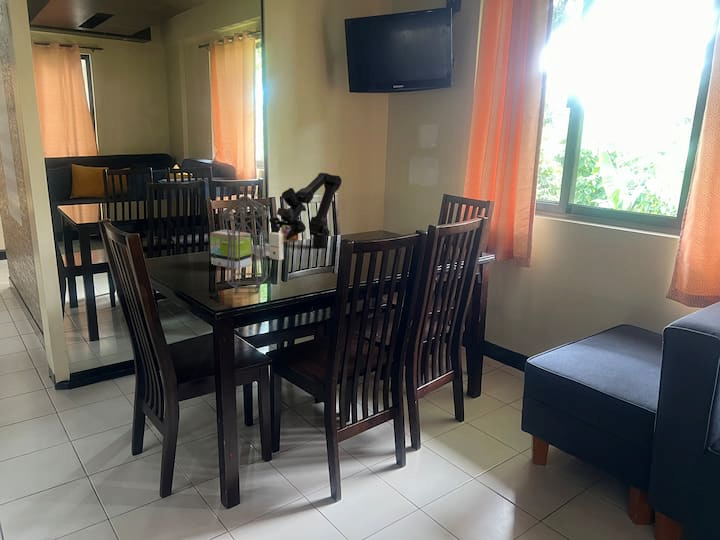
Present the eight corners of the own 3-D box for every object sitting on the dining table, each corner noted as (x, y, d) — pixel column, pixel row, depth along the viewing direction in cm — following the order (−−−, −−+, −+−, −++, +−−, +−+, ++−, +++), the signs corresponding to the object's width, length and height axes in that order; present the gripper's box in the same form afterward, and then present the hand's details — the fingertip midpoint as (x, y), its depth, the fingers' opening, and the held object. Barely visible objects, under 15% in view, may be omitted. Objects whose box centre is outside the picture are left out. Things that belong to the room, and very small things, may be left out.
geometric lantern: (271, 285, 202) (270, 194, 194) (265, 297, 187) (263, 199, 178) (230, 284, 202) (226, 193, 193) (221, 297, 187) (217, 198, 178)
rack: (249, 252, 257) (249, 245, 257) (266, 250, 263) (266, 243, 262) (260, 257, 247) (260, 250, 246) (278, 255, 252) (278, 248, 251)
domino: (269, 258, 246) (268, 233, 243) (273, 257, 248) (273, 232, 245) (279, 260, 243) (278, 234, 240) (283, 259, 245) (283, 233, 242)
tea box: (210, 265, 230) (208, 232, 227) (226, 260, 239) (224, 228, 235) (237, 270, 224) (235, 235, 220) (252, 265, 232) (251, 232, 229)
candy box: (282, 242, 283) (282, 214, 279) (281, 240, 287) (280, 212, 283) (298, 241, 286) (298, 213, 282) (297, 240, 290) (296, 212, 286)
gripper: (271, 199, 250) (255, 225, 244) (302, 203, 240) (286, 230, 234) (282, 214, 258) (267, 239, 252) (312, 218, 249) (297, 244, 242)
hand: (279, 238), depth 245 cm, fingers open, 9 cm apart
